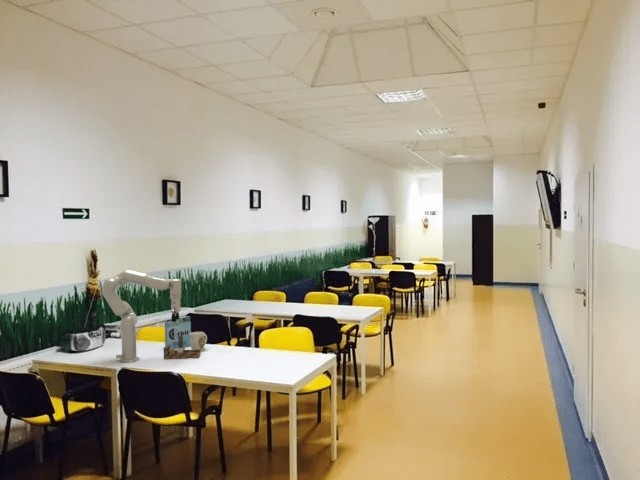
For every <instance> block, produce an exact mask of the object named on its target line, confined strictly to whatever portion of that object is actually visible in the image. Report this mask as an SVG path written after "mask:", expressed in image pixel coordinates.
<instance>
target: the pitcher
mask: <svg viewBox="0 0 640 480" xmlns="http://www.w3.org/2000/svg"><path fill="white" fill-rule="evenodd" d="M189 335H191V337H190V348H191V349H190V350H197V349H201V352H202V351H203V349H204V348H205V345H206V343H207V341H208V336H207V334H206V333H205V332H204V331H194V332H192V331H191V333H190V334H189Z"/></svg>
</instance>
